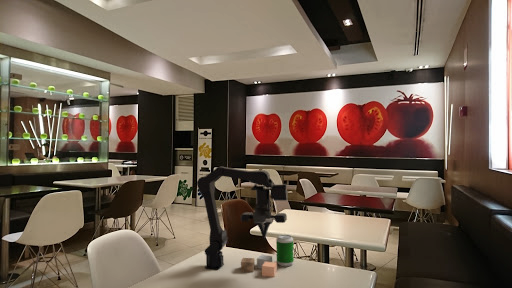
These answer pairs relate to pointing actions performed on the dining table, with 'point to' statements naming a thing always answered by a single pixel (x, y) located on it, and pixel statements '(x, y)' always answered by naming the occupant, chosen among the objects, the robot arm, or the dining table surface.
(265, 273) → the terracotta block
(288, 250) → the soda can
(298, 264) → the dining table surface
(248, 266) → the walnut block
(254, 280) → the dining table surface
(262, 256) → the slate block
